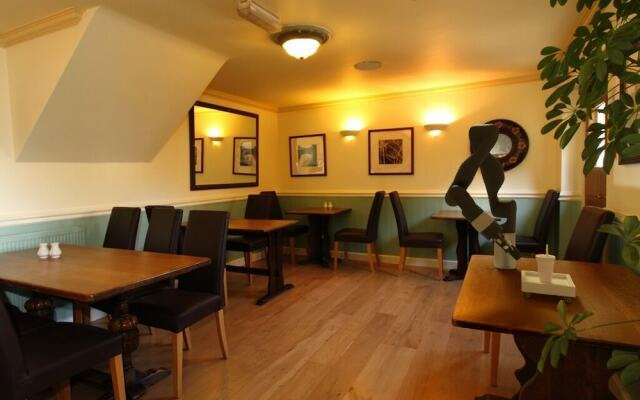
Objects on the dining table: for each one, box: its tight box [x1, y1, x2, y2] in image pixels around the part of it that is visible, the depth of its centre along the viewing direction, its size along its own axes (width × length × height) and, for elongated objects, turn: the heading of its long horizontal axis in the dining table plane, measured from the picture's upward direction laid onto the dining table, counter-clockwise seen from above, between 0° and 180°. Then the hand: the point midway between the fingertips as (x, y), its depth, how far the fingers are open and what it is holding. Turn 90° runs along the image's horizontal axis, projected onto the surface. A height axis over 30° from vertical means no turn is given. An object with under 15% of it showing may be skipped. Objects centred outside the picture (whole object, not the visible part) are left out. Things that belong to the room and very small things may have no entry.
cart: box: [520, 270, 577, 304], centre depth 137 cm, size 18×16×6 cm
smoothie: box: [535, 244, 556, 283], centre depth 137 cm, size 6×6×14 cm
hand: (519, 256), depth 141 cm, fingers open, 8 cm apart
